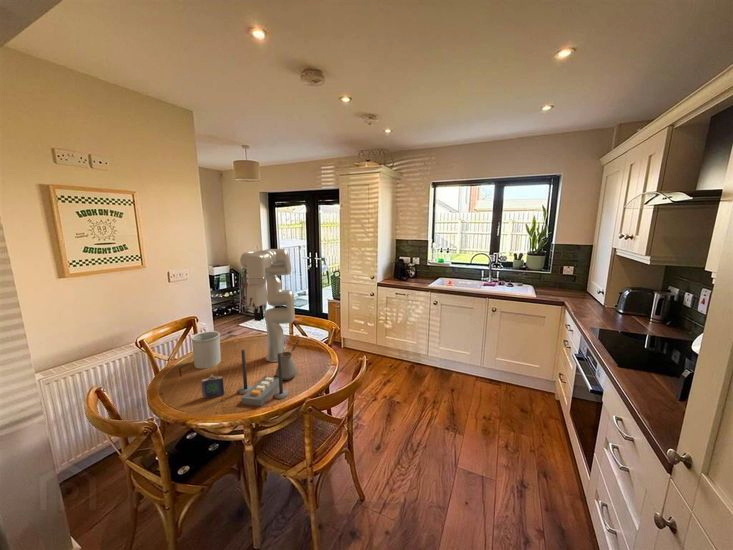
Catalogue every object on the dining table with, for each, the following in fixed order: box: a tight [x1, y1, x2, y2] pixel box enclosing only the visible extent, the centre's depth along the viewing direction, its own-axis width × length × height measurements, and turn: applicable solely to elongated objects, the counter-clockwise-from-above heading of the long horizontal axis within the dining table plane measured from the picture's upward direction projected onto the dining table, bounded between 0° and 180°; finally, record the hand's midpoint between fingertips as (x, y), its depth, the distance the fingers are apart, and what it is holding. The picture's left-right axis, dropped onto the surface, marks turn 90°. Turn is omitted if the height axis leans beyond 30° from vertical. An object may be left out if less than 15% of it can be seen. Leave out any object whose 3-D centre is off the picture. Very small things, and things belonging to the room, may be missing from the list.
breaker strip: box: [240, 375, 279, 407], centre depth 141 cm, size 20×10×4 cm, turn 169°
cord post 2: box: [273, 353, 289, 400], centre depth 138 cm, size 6×6×21 cm
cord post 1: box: [238, 349, 253, 395], centre depth 141 cm, size 6×6×21 cm
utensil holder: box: [190, 330, 221, 369], centre depth 170 cm, size 15×15×18 cm
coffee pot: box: [274, 339, 300, 381], centre depth 160 cm, size 21×12×15 cm, turn 166°
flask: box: [200, 373, 225, 400], centre depth 138 cm, size 9×3×11 cm, turn 109°
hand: (259, 319), depth 135 cm, fingers closed
